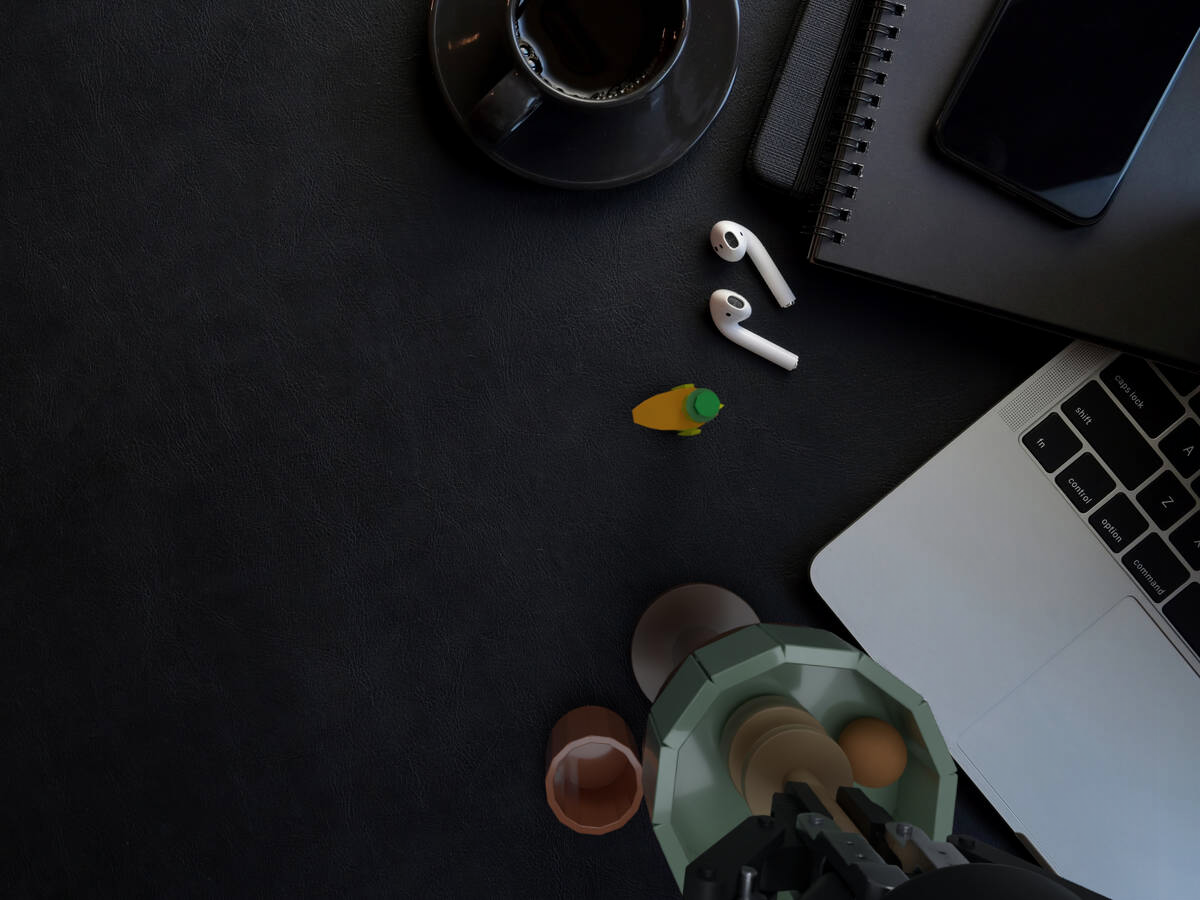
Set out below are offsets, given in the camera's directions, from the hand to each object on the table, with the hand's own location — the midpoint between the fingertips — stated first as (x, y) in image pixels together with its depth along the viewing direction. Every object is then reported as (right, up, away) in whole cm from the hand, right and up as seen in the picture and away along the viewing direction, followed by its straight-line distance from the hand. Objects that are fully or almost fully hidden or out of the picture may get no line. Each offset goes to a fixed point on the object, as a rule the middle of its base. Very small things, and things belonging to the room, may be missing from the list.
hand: (818, 810), depth 34 cm
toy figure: (-3, +16, +35) cm, 38 cm away
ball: (+4, 0, +7) cm, 8 cm away
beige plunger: (0, 0, +8) cm, 8 cm away
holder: (-9, -9, +34) cm, 36 cm away
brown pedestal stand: (-1, -1, +34) cm, 34 cm away
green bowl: (0, -1, +9) cm, 9 cm away
